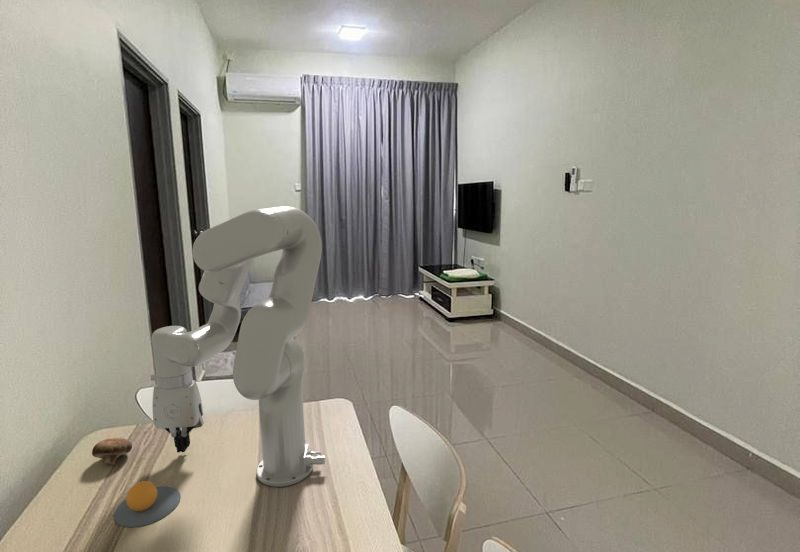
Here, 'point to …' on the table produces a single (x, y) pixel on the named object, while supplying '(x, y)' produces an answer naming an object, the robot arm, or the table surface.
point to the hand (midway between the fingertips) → (183, 449)
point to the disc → (149, 509)
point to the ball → (141, 496)
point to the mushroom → (111, 449)
